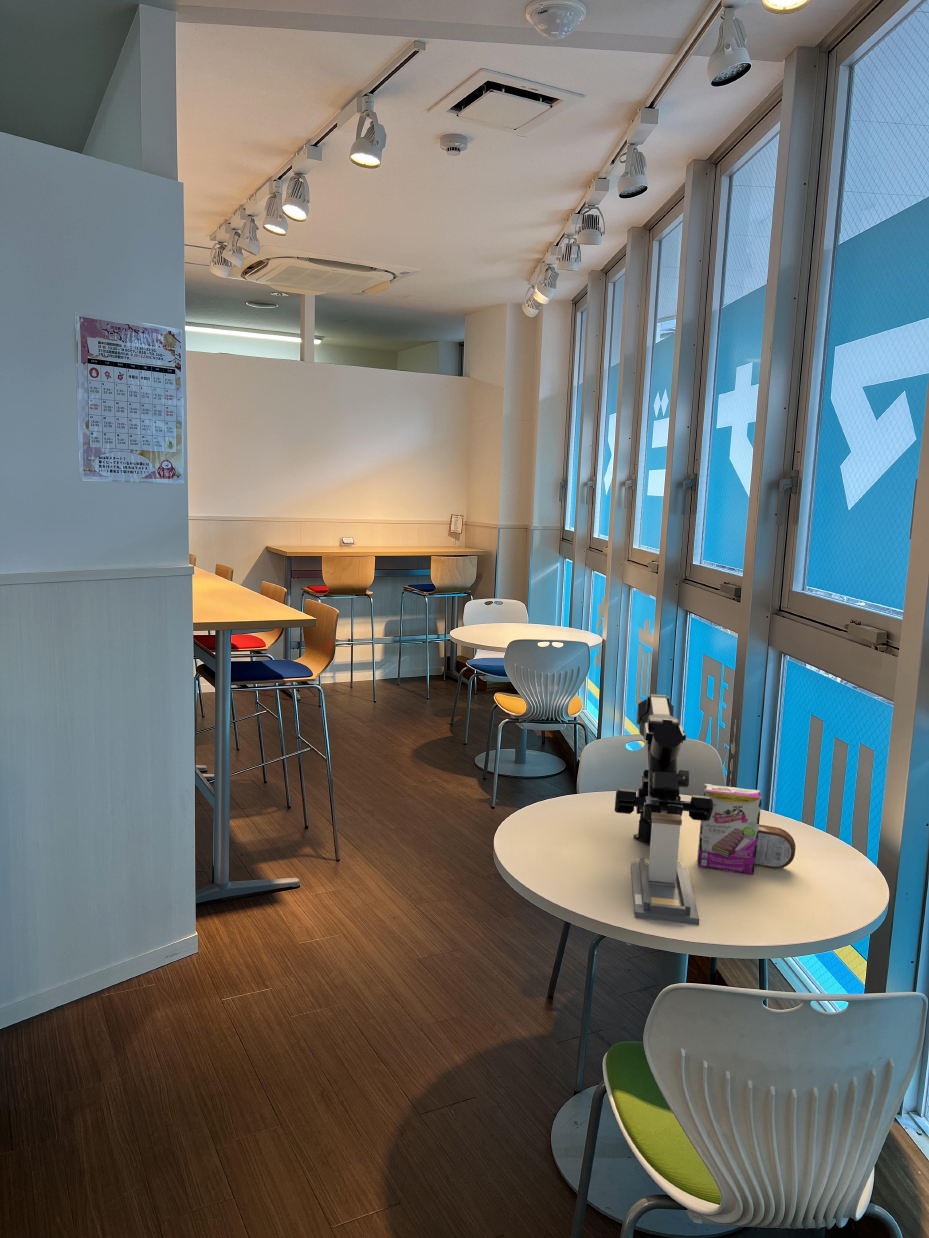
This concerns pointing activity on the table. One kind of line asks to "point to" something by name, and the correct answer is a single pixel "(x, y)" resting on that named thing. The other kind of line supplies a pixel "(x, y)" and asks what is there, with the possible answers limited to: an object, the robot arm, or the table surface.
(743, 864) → the candy bar box
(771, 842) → the tin
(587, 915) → the table surface
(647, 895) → the switch housing
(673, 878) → the switch tab
